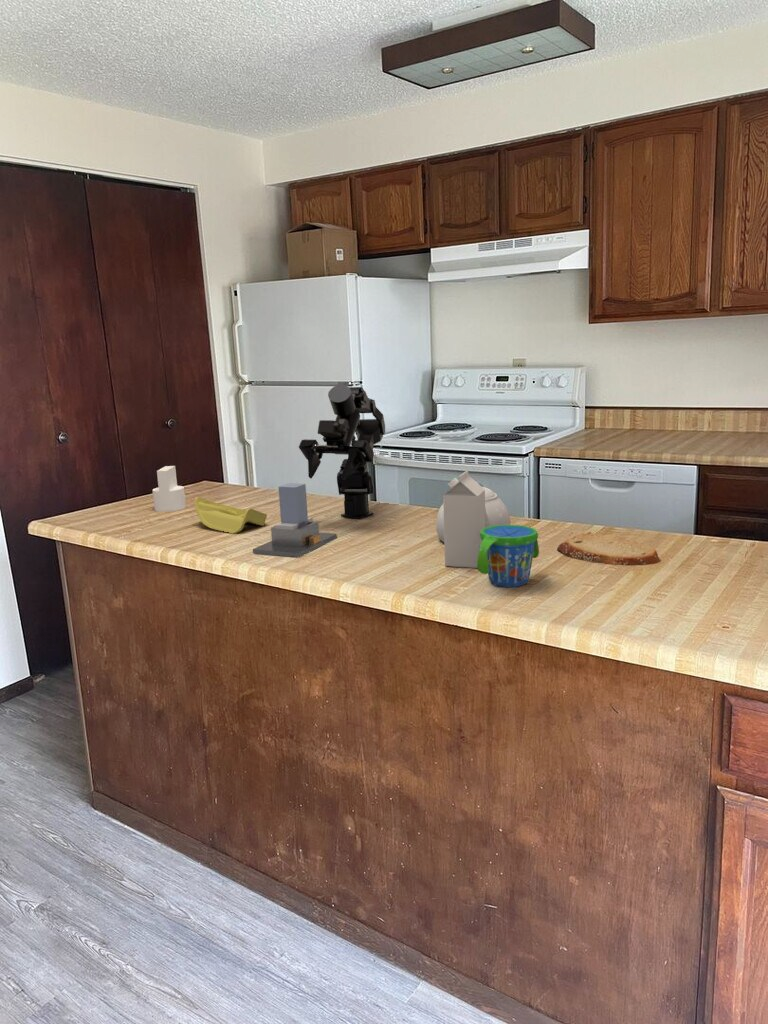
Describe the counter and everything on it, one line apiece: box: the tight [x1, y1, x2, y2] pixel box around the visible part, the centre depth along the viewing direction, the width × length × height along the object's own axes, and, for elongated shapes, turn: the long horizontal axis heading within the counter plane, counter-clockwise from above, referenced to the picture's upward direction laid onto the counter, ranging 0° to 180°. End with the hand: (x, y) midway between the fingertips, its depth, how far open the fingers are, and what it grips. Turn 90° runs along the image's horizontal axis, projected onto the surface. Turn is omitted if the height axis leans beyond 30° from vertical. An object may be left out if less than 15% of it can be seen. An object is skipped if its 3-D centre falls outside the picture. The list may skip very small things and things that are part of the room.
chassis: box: [252, 520, 338, 558], centre depth 181 cm, size 18×12×5 cm, turn 155°
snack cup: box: [476, 524, 540, 588], centre depth 147 cm, size 16×10×10 cm
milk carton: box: [442, 469, 485, 569], centre depth 160 cm, size 7×7×19 cm
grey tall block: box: [275, 482, 314, 530], centre depth 180 cm, size 9×4×13 cm, turn 155°
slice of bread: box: [556, 531, 661, 566], centre depth 163 cm, size 18×18×4 cm
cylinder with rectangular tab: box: [152, 465, 187, 513], centre depth 229 cm, size 9×9×12 cm
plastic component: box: [194, 496, 268, 534], centre depth 204 cm, size 20×7×10 cm
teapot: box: [435, 481, 511, 543], centre depth 179 cm, size 19×18×14 cm
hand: (326, 478), depth 190 cm, fingers open, 9 cm apart
